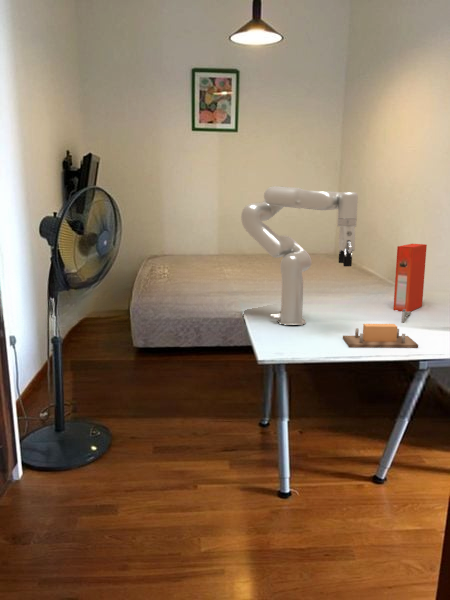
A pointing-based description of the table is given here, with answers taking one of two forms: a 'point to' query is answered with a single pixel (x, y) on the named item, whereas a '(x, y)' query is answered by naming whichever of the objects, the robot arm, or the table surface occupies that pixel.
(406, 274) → the file binder
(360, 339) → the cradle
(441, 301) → the table surface
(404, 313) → the caliper
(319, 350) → the table surface
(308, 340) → the table surface
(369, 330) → the jaw block
